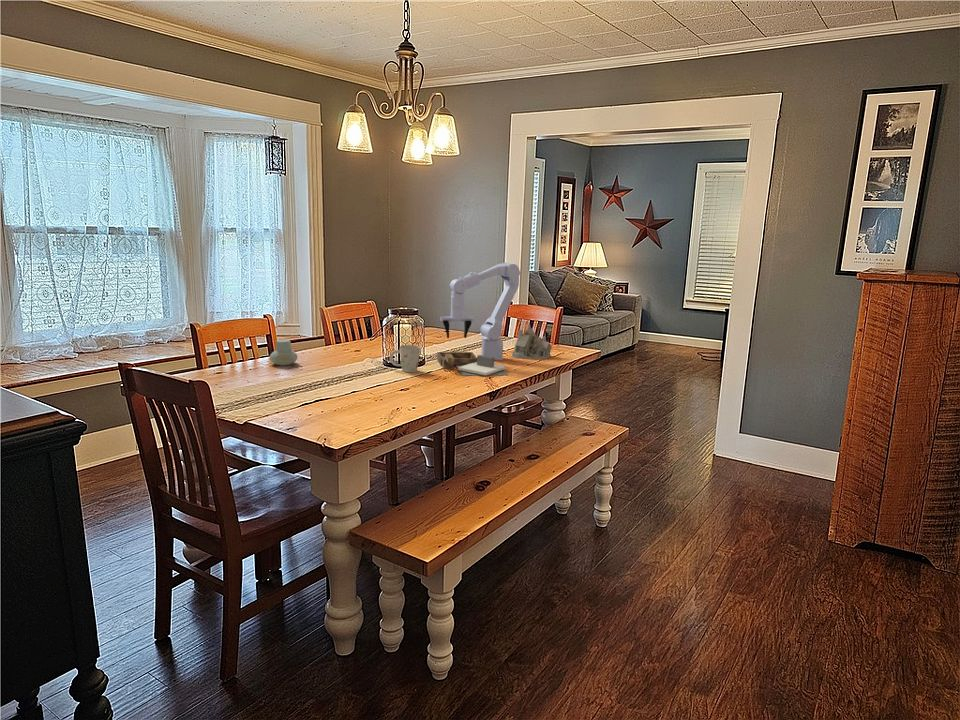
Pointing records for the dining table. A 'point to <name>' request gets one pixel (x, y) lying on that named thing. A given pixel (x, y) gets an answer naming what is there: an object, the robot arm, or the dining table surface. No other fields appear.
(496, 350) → the robot arm
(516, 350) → the ceramic cottage
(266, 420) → the dining table surface
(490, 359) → the lid
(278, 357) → the air freshener
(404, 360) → the mug
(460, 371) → the mat
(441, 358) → the brown wooden tray
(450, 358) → the key
